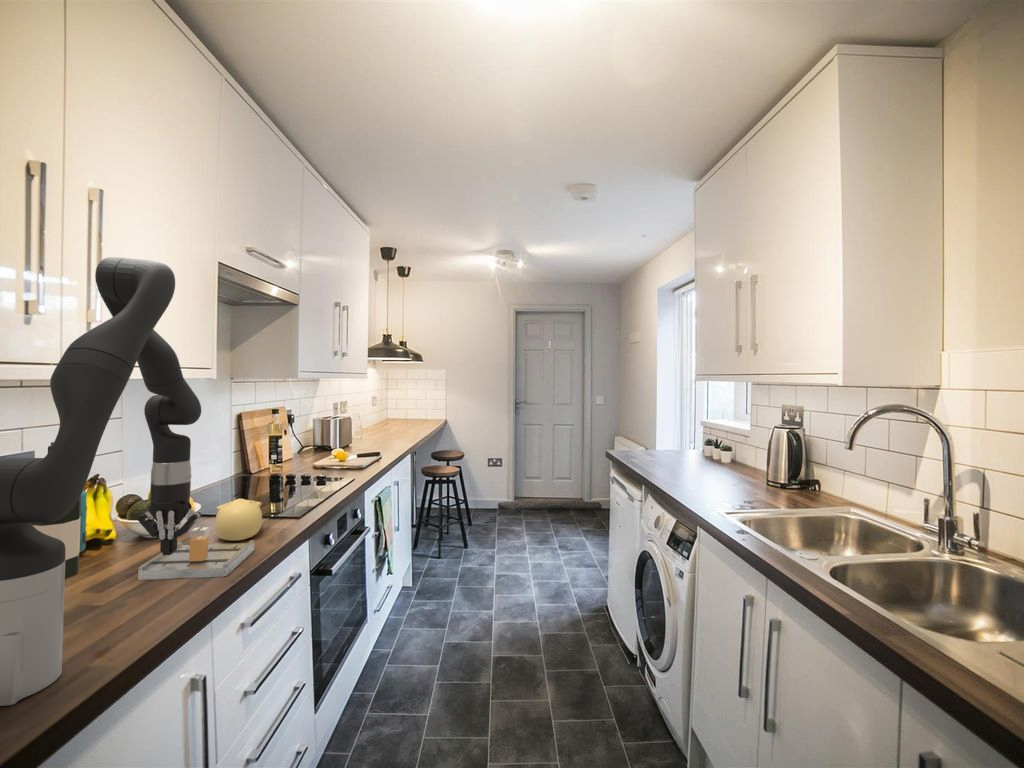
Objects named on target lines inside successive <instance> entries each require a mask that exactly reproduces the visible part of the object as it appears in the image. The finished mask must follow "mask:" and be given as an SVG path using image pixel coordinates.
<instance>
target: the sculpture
mask: <svg viewBox="0 0 1024 768" xmlns="http://www.w3.org/2000/svg"><path fill="white" fill-rule="evenodd" d="M261 506H262V502H260V501H255V500H252V499H250V500H249V499H245V498H237V499H234V500H232V501H229V502H226V503H224V504H221V505H218V506H216V510H217V514H216V516H215V520H214V521H215V522H214V524H215V531H216V534H217V536H218V537H219V538H220V539H221V540H224V541H233V542H234V541H243V540H246V539H250V538H252V537H254V536H255V535H257V534H258V532H259V531H260V529H261V527H262V523H263V512H262V510H261Z"/></svg>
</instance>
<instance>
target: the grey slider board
mask: <svg viewBox="0 0 1024 768" xmlns="http://www.w3.org/2000/svg"><path fill="white" fill-rule="evenodd" d="M189 548H190V544H183V541H177V549H176V551H174V553H173V554H171V555H163V554H162V553H161V552H160V553H159V554H158V555H156V556H154V557H152V558H151V559H150V560H148V561H146V562H144V563H142V565H140V566H138V573H137V574H138V575H137V578H138V579H137V580H138V581H140V580H141V581H142V580H145V581H146V580H147V581H148V580H171V579H173V580H174V579H197V578H198V579H199V578H224V576H226V577H227V575H228V576H229V575H230V574H231V573H232V572H233V571H234V570H235V569H237V567H238V566H239V565H240V564H242V562H243V561H244V560H247V558H248V557H249V556H250V555H251V554H252V553H254V550H255V540H254V539H252V540H249V541H248V542H247V543H244V542H243V543H212V544H210V543H208V558H206V559H205V560H204V561H189Z"/></svg>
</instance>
